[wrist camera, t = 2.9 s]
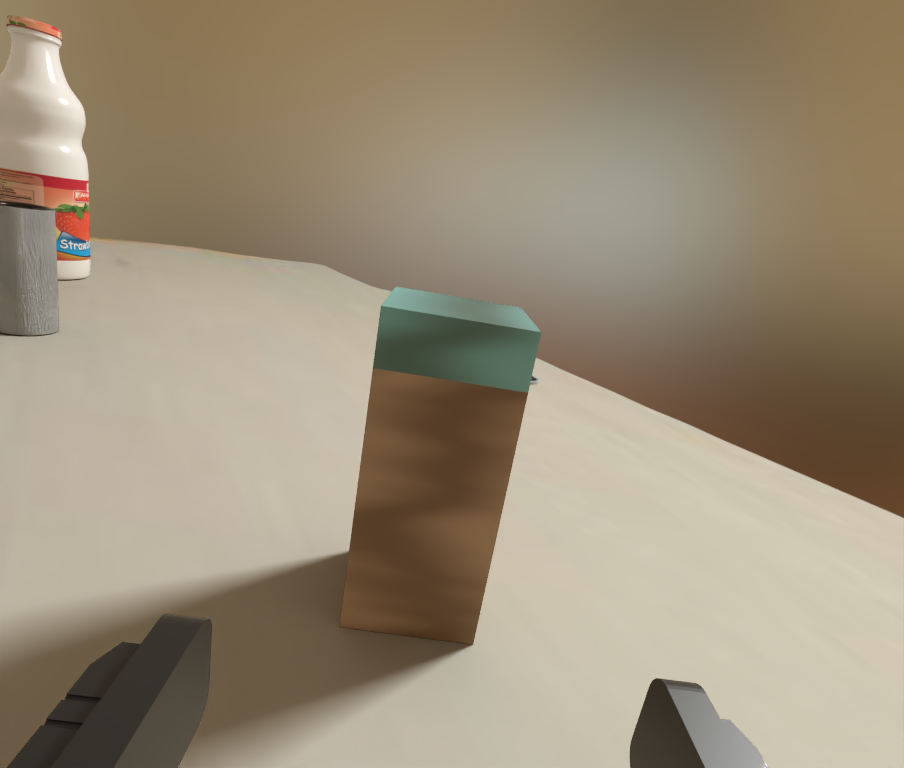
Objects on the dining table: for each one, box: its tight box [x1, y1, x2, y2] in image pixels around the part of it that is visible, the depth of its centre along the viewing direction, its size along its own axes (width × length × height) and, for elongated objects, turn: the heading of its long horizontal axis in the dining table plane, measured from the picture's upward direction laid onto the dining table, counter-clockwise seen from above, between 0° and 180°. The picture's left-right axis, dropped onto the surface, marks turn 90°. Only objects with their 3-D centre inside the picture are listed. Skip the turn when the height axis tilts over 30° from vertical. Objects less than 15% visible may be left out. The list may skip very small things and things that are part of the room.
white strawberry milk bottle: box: [0, 15, 90, 280], centre depth 64 cm, size 9×9×28 cm
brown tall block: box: [339, 287, 541, 644], centre depth 21 cm, size 5×5×12 cm
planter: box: [0, 200, 59, 336], centre depth 45 cm, size 4×4×10 cm
